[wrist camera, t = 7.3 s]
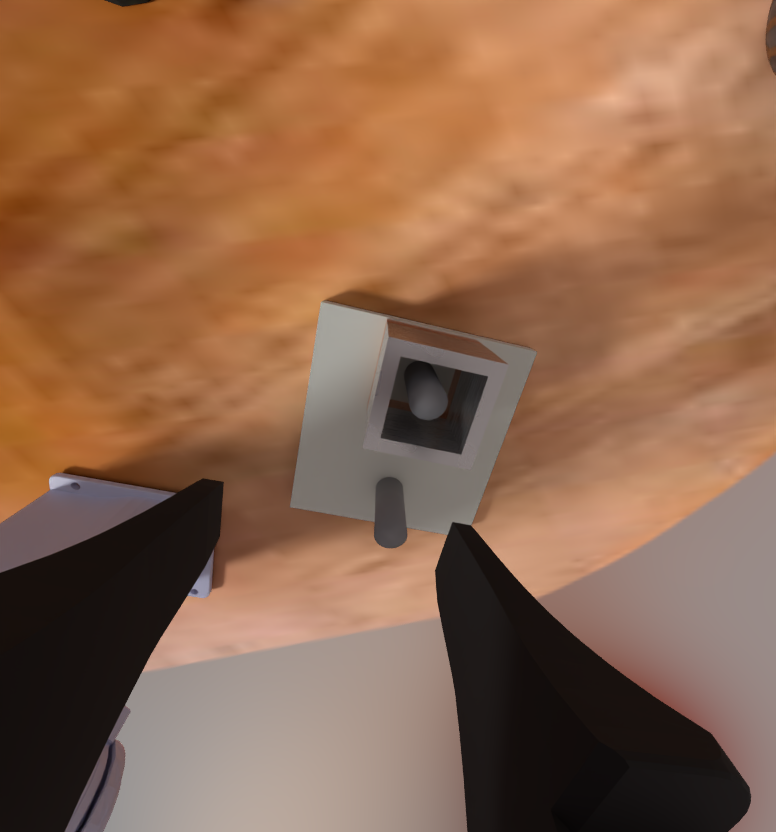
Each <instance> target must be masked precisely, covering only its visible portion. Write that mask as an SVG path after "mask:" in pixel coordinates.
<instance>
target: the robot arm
mask: <svg viewBox="0 0 776 832" xmlns="http://www.w3.org/2000/svg"><path fill="white" fill-rule="evenodd" d="M77 483H78V484H79V485H80V486H79V485H77ZM223 484H224V482H220V481H215V480H209V479H201V480H199V481H197V482H196V483H194V484H192V485H190V486H189V487H187V488H185V489H183V490H182V491H180V492H178V493H174V492H168V491H162V490H156V489H151V488H145V487H139V486H134V485H128V484H122V483H116V482H111V481H105V480H99V479H93V478H88V477H82V476H76V475H70V474H65V473H56V474H54V475H53V476H51V477H50V478H49V485H50V490H49V491H48V492H47V493H45V494H44V495H42V496H41V497H39V498H38V499H36V500H35V501H33V502H32V503H30V504H29V505H27V506H26V507H24V508H23V509H21V510H20V511H18V512H17V513H15V514H14V515H12V516H11V517H9V518H8V519H6V520H5V521H3V522H2V523H0V832H103V831H104V829H105V827H106V824H107V822H108V820H109V818H110V816H111V813H112V811H113V808H114V805H115V803H116V800H117V797H118V793H119V790H120V785H121V779H122V775H123V770H124V765H125V750H124V747H123V745H122V744H121V743H120V741H118V740H116V739H115V738H116V737H117V735H118V733H119V731H120V729H121V728H122V726H123V724H124V722H125V721H126V719H127V717H128V715H129V714H130V709H129V708H127V707H126V706H125V704H126V702H127V700H128V698H129V696H130V694H131V692H132V690H133V688H134V686H135V684H136V682H137V680H138V678H139V676H140V674H141V673H142V671H143V669H144V667H145V665H146V663H147V661H148V659H149V657H150V655H151V654H152V652H153V650H154V648H155V647H156V645H157V643H158V642H159V640H160V638H161V637H162V635H163V633H164V632H165V630H166V629H167V627H168V625H169V624H170V622H171V621H172V619H173V618H174V616H175V614H176V613H177V611H178V610H179V608H180V607H181V605H182V603H183V602H184V600H185V599H186V597H187V596H193V597H200V598H205V597H208V596H209V594H210V592H211V590H212V574H213V558H214V548H215V545H216V543H217V541H218V539H219V537H220V526H221V512H222V498H223ZM435 575H436V590H437V602H438V607H439V612H440V617H441V622H442V628H443V632H444V637H445V642H446V647H447V652H448V657H449V661H450V667H451V672H452V677H453V683H454V689H455V695H456V705H457V714H458V723H459V731H460V743H461V754H462V765H463V775H464V789H465V803H466V816H467V831H468V832H728V831H729V830H730V829H731V828H733V827H734V826H735V825H736V824H737V823H738V822H739V821H740V820H741V819H742V817H743V816H744V815H745V814H746V813H747V811H748V808H749V806H750V802H751V794H750V788H749V786H748V785H747V783H746V782H745V780H744V779H743V778H742V776H741V775H740V773H739V772H738V770H737V769H736V768H735V766H734V765H733V763H732V762H731V761H730V759H729V758H728V756H727V755H726V754H725V752H724V751H723V749H722V748H721V746H720V745H719V744H718V742H717V741H716V740H715V738H714V737H713V735H712V734H711V733H710V732H708V731H706V730H705V729H703V728H702V727H700V726H699V725H697V724H696V723H694V722H692V721H691V720H689V719H688V718H686V717H685V716H683V715H681V714H680V713H678V712H677V711H675V710H674V709H672V708H671V707H669V706H668V705H666V704H664V703H663V702H661V701H660V700H658V699H657V698H655V697H653V696H652V695H651V694H650V693H648V692H647V691H645V690H644V689H643V688H641V687H639V686H638V685H637V684H636V683H634V682H633V681H631V680H630V679H629V678H627V677H626V676H624V675H623V674H622V673H620V672H619V671H618V670H616V669H615V668H614V667H612V666H611V665H610V664H608V663H607V662H606V661H605V660H603V659H602V658H601V657H600V656H598V655H597V654H596V653H595V652H593V651H592V650H591V649H590V648H589V647H587V646H586V645H585V644H583V643H582V642H581V641H580V640H579V639H578V638H577V637H575V636H574V635H573V634H572V633H571V632H570V631H568V630H567V629H566V628H565V627H564V626H563V625H562V624H561V623H560V622H559V621H558V620H557V619H555V618H554V617H553V616H552V615H551V614H550V613H549V612H548V611H547V610H546V609H545V608H544V607H543V606H542V605H541V604H540V603H539V602H538V601H537V600H536V599H535V598H534V597H533V596H532V595H531V594H530V593H529V592H528V591H527V590H526V589H525V588H524V587H523V585H522V584H521V583H520V582H519V581H518V580H517V579H516V578H515V577H514V576H513V574H512V573H511V572H510V571H509V570H508V569H507V568H506V566H505V565H504V564H503V563H502V562H501V561H500V559H499V558H498V557H497V556H496V555H495V553H494V552H493V551H492V550H491V549H490V547H489V546H488V545H487V544H486V543H485V541H484V540H483V539H482V538H481V537H480V535H479V534H478V533H477V532H476V531H475V530H474V528H473V527H472V526H471V525H467V524H461V523H456V522H452V524H451V527H450V530H449V533H448V535H447V538H446V541H445V544H444V547H443V550H442V553H441V555H440V558H439V561H438V564H437V567H436V570H435Z"/></svg>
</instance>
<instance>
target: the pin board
mask: <svg viewBox="0 0 776 832" xmlns="http://www.w3.org/2000/svg"><path fill="white" fill-rule="evenodd" d="M387 319H391V320H395V321H399V322H404V323H408V324H412V325H416V326H420V327H425V328H429V329H433V330H437V331H441V332H446V333H450V334H454V335H458V336H462V337H467V338H471V339H475V340H478V341H479V342H480V343H482V344H483V345H484V346H485V347H487V348H488V349H489V350H491V351H492V352H493V353H495V354H496V355H497V356H498V357H500V358H501V359H502V360H504V361H505V362H506V363H508V364H509V366H508V369H507V372H506V374H505V377H504V380H503V383H502V386H501V388H500V391H499V394H498V397H497V399H496V402H495V405H494V408H493V410H492V413H491V416H490V419H489V421H488V424H487V427H486V430H485V432H484V435H483V438H482V441H481V443H480V446H479V449H478V452H477V454H476V457H475V460H474V463H473V465H472V468H471V470H468V469H463V468H458V467H453V466H448V465H443V464H438V463H433V462H428V461H423V460H418V459H414V458H409V457H404V456H399V455H394V454H389V453H384V452H379V451H374V450H369V449H364V448H363V440H364V431H365V422H366V413H367V404H368V400H369V396H370V391H371V387H372V382H373V378H374V374H375V369H376V365H377V360H378V356H379V351H380V347H381V343H382V338H383V334H384V329H385V325H386V320H387ZM536 354H537V351H535V350H533V349H531V348H529V347H524V346H520V345H516V344H511V343H507V342H503V341H498V340H494V339H490V338H485V337H481V336H477V335H472V334H468V333H464V332H460V331H455V330H451V329H447V328H442V327H438V326H434V325H429V324H425V323H421V322H416V321H412V320H408V319H403V318H399V317H395V316H391V315H386V314H382V313H378V312H373V311H369V310H365V309H360V308H356V307H352V306H347V305H343V304H339V303H334V302H330V301H326V300H324V301H322V302H321V306H320V312H319V319H318V325H317V332H316V339H315V345H314V352H313V358H312V365H311V372H310V378H309V385H308V391H307V398H306V404H305V411H304V418H303V424H302V431H301V437H300V444H299V450H298V457H297V464H296V470H295V477H294V483H293V490H292V497H291V503H290V507H292V508H298V509H303V510H309V511H315V512H320V513H326V514H332V515H337V516H343V517H349V518H354V519H360V520H366V521H371V522H375V526H374V538H375V540H376V542H377V543H378V544H379V545H381V546H382V547H385V548H396V547H399V546H401V545H402V544H403V543H404V542H405V541H406V539H407V528H411V529H417V530H423V531H428V532H434V533H440V534H445V535H448V533H449V530H450V527H451V524H452V522H456V523H461V524H467V525H472V522H473V520H474V517H475V514H476V512H477V509H478V506H479V504H480V501H481V499H482V496H483V493H484V491H485V488H486V485H487V483H488V480H489V477H490V475H491V472H492V470H493V467H494V464H495V462H496V459H497V456H498V454H499V451H500V449H501V446H502V443H503V441H504V438H505V435H506V433H507V430H508V428H509V425H510V422H511V420H512V417H513V414H514V412H515V409H516V407H517V404H518V401H519V399H520V396H521V393H522V391H523V388H524V386H525V383H526V380H527V378H528V375H529V372H530V370H531V367H532V365H533V362H534V359H535V357H536ZM454 373H455V369H454V368H449V367H445V366H441V365H436V364H432V363H427V362H423V361H419V360H414V359H410V358H406V357H400V361H399V365H398V369H397V373H396V377H395V381H394V385H393V389H392V393H391V397H390V399H392V400H396V401H401V402H406V403H409V406H410V409H411V411H412V413H413V414H414V415H415V416H416V417H418V418H420V419H423V420H432V419H435V418H437V417H439V416H441V415H442V414H443V413H444V411H445V410H446V408H447V404H448V398H447V395H448V392H449V389H450V386H451V382H452V379H453V376H454Z"/></svg>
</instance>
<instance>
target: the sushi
mask: <svg viewBox="0 0 776 832" xmlns="http://www.w3.org/2000/svg"><path fill="white" fill-rule="evenodd" d="M105 1H108V2H111V3H114V4H117V5H120V6H122V7H123V6H129V5H134V4H140V3H146V2H149V1H150V0H105Z"/></svg>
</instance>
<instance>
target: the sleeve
mask: <svg viewBox="0 0 776 832" xmlns="http://www.w3.org/2000/svg"><path fill="white" fill-rule="evenodd" d="M400 357H406V358H410V359H414V360H419V361H423V362H427V363H432V364H436V365H441V366H445V367H449V368H454V369H455V373H454V376H453V379H452V382H451V386H450V389H449V392H448V395H447V398H448V404H447V408H446V410H445V411H444V413H443V414H442V415H441V416H439V417H437V418H435V419H432V420H423V419H420V418H418V417H416V416H415V415H414V414H413V413H412V411H411V409H410V406H409V403H406V402H401V401H396V400H392V399H390V397H391V393H392V389H393V385H394V381H395V377H396V373H397V369H398V365H399V361H400ZM508 366H509V364H508V363H506V362H505V361H504V360H502V359H501V358H500V357H498V356H497V355H496V354H495V353H493V352H492V351H491V350H489V349H488V348H487V347H485V346H484V345H483V344H482V343H480V342H479V341H478V340H475V339H471V338H467V337H462V336H458V335H454V334H450V333H446V332H441V331H437V330H433V329H429V328H425V327H420V326H416V325H412V324H408V323H404V322H399V321H395V320H391V319H387V320H386V325H385V329H384V334H383V338H382V343H381V347H380V351H379V356H378V360H377V365H376V369H375V374H374V378H373V382H372V387H371V391H370V396H369V400H368V404H367V413H366V422H365V431H364V440H363V448H364V449H369V450H374V451H379V452H384V453H389V454H394V455H399V456H404V457H409V458H414V459H418V460H423V461H428V462H433V463H438V464H443V465H448V466H453V467H458V468H463V469H468V470H471V468H472V465H473V463H474V460H475V457H476V454H477V452H478V449H479V446H480V443H481V441H482V438H483V435H484V432H485V430H486V427H487V424H488V421H489V419H490V416H491V413H492V410H493V408H494V405H495V402H496V399H497V397H498V394H499V391H500V388H501V386H502V383H503V380H504V377H505V374H506V372H507V369H508Z"/></svg>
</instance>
